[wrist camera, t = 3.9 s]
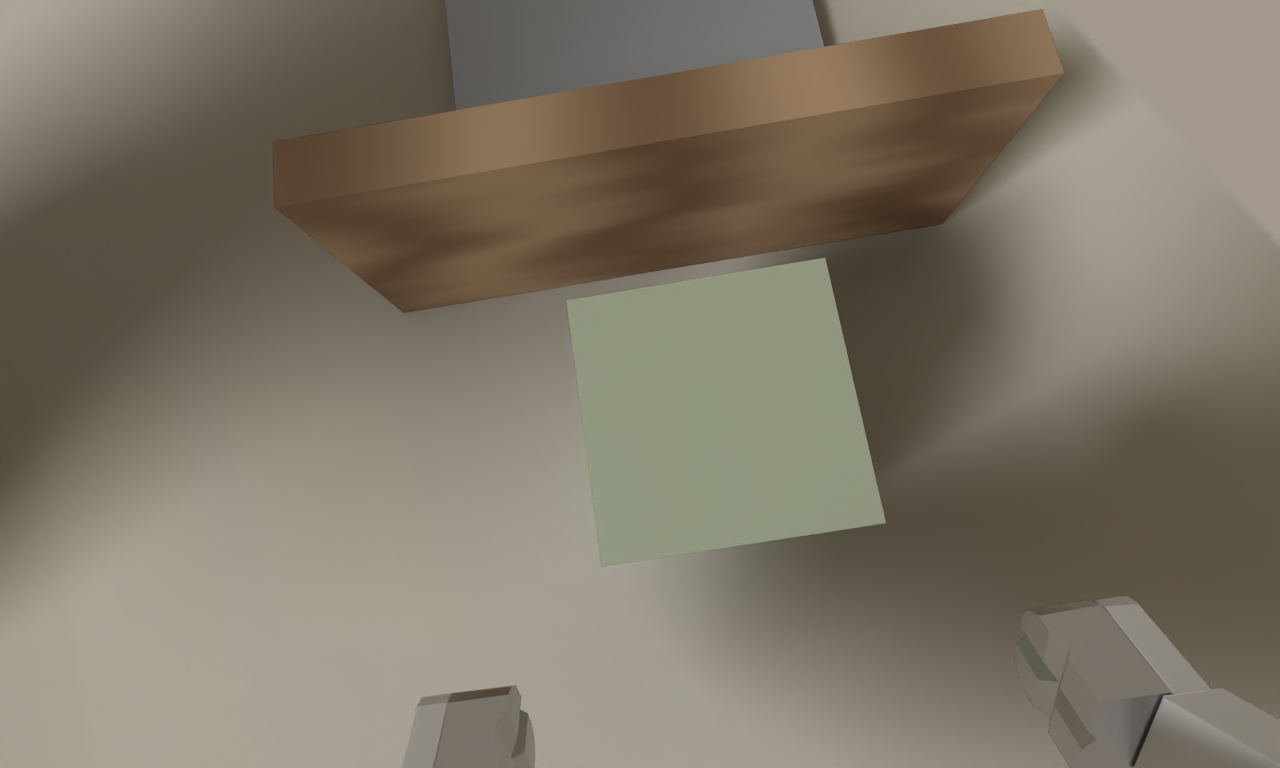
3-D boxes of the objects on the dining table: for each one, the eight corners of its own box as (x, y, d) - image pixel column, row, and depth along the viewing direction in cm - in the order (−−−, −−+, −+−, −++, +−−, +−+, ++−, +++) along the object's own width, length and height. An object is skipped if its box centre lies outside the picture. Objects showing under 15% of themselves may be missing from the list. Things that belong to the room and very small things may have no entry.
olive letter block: (638, 556, 20) (601, 566, 11) (615, 396, 21) (564, 289, 12) (795, 531, 19) (885, 523, 11) (764, 372, 21) (822, 247, 12)
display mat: (468, 177, 23) (461, 164, 22) (445, -47, 25) (438, -66, 24) (832, 115, 22) (837, 100, 22) (778, -106, 24) (781, -127, 24)
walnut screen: (403, 312, 22) (274, 207, 15) (399, 265, 22) (272, 141, 15) (942, 223, 21) (1064, 72, 14) (929, 177, 22) (1042, 8, 15)
